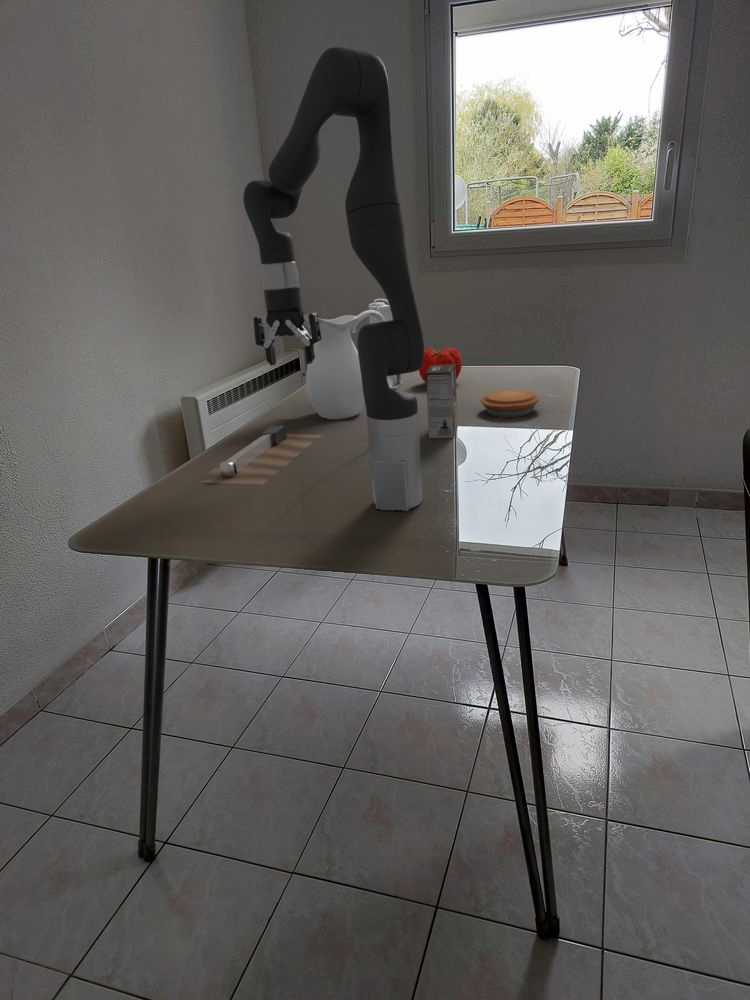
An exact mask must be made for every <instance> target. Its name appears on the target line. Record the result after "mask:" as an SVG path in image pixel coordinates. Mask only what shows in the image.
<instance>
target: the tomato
mask: <svg viewBox="0 0 750 1000" xmlns="http://www.w3.org/2000/svg"><path fill="white" fill-rule="evenodd" d="M462 362H463V361H462V356H461V353H460V352H459V351H458V349H457V348H453V347H450V348H448V347H444V348H443V349H441V350H440V349H437V350H435V349H433V348H432V347H427V348H426V347H424V361H423V364H422V366H421V368H420V369H419V370H418V372H419V376H420V378H421V379H422V380H423V381H424V383H425V384H426V372H427V370H428V369H429V367H430V366H431V365H450V364H456V380H457V379H458V378H459V376H460V374H461V371H462V367H463V366H462V365H463V364H462Z"/></svg>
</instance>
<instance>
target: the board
mask: <svg viewBox="0 0 750 1000" xmlns="http://www.w3.org/2000/svg"><path fill="white" fill-rule="evenodd" d="M322 435H323V434H291V433H290V434H287V433H286V437H287V438H286V439H284V440H283V441H282V442H280V443H279V444H278V445H273V446H272V447H271V448H269V449H268V450H267V451H265V452H264V453H263V454H261V455H260V456H259V457H257V458H256V459H255V460H254V461H252V462H251V463H250V464H248V465H247V466H246V467H244V468H243V469H242V470H240V471H239V472H238V473H235V476H234V477H233V478H229V479H223V478H222V476H221V470H220V464H218V465H217V466H216V467H213V468H212V469H211V470H209V471H208V472H206V473H205V474H204V475H202V476H201V477H199V478H198V479H197V480H195V481H194V483H196V484H197V483H202V484H221V485H222V484H225V485H226V484H228V485H229V484H230V485H248V486H250V485H252V486H264V485H265V484H266V483H267V482H268V481H269V480H271V479H272V478H273V477H274V476H276V475H277V474H278V473H279V472H280V471H282V470H283V469H284V468H286V466H287V465H288V464H290V463H291V462H292V461H293V460H294V459H296V458H297V457H298V456H299V455H301V454H302V453H303V452H304V451H305V450H306V449H307V448H308V447H310V446H311V445H312V444H313V443H314V442H316V441H317V440H318V439H319V438H320V437H321V436H322ZM260 437H261V435H260V436H258V437H257V438H256V439H254V440H253V441H252V442H250V443H248V444H247V445H246V446H245V447H247V446H248V445H250V444H251V443H253V442H254V441H255V440H257V439H258V438H260ZM245 447H243V448H242V449H244V448H245ZM242 449H240V450H238V451H237V452H236V453H234V454H233V455H231V456H230V457H228V458H227V459H225V460H224V461H227V460H228V459H229V458H231V457H232V456H234V455H235V454H237V453H238V452H240V451H241V450H242Z"/></svg>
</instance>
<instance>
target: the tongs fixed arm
mask: <svg viewBox="0 0 750 1000" xmlns="http://www.w3.org/2000/svg"><path fill="white" fill-rule="evenodd" d="M278 426H279V425H278ZM278 426H277V425H276V426H275V425H273V426H272V425H271V426H270V427H268V428H267V429H266V430H264V431H262V432H261V433H260V436H261V437H260V436H259V437H260V438H259V437H257V438H258V439H257V438H256V439H257V440H256V439H254V440H255V441H254V440H253V441H254V442H253V441H252V442H253V443H251V442H250V443H251V444H250V443H249V444H250V445H249V444H247V445H248V446H247V445H246V446H247V447H246V446H245V448H244V447H243V448H244V449H243V448H242V450H241V449H240V450H241V451H240V450H239V451H240V452H238V451H237V452H238V453H237V452H236V453H237V454H235V453H234V454H235V455H234V454H233V455H234V456H233V455H231V456H232V457H231V456H230V457H231V458H230V457H228V458H229V459H228V458H227V459H228V460H227V459H226V460H227V461H225V460H224V461H221V462H220V463H219V465H220V470H221V476H222V478H223V479H229V478H233V477H234V476H235V472H234V466H233V462H232V461H231V460H232V459H234V458H235V457H237V456H238V455H239V454H241V453H242V452H244V451H245V450H246V449H248V448H249V447H251V446H252V445H254V444H255V443H256V442H258V441H259V440H261V439H262V438H263V437H265V436H266V435H268V433H269V432H271V431H272V430H273V429H275V428H276V427H278Z"/></svg>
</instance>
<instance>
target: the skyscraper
mask: <svg viewBox="0 0 750 1000" xmlns="http://www.w3.org/2000/svg"><path fill="white" fill-rule="evenodd" d="M377 301H380V302H377ZM381 301H383V302H381ZM385 302H386V303H387V304H385ZM368 310H374V311H377V312H379V313H380V314H381V315H382V316H383V317H384V319H385V321H393V317H392V313H391V309H390V305H389V302H388V300H387V298H376V299H374V300H373V302H372V303H371V302H370V303H369V304H368ZM368 317H369V324H371V323H378V320H377V318H375V317H373V316H368ZM401 376H402V374H398V375H392V376H387V381H388V385H389V387H390V388H391V389H397V388H398V387H399V386H400V385H401V384H402V385H403V382H402V377H401ZM402 385H401V386H402ZM401 386H400V387H401ZM400 387H399V388H400ZM399 388H398V389H399ZM398 389H397V390H398Z"/></svg>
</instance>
